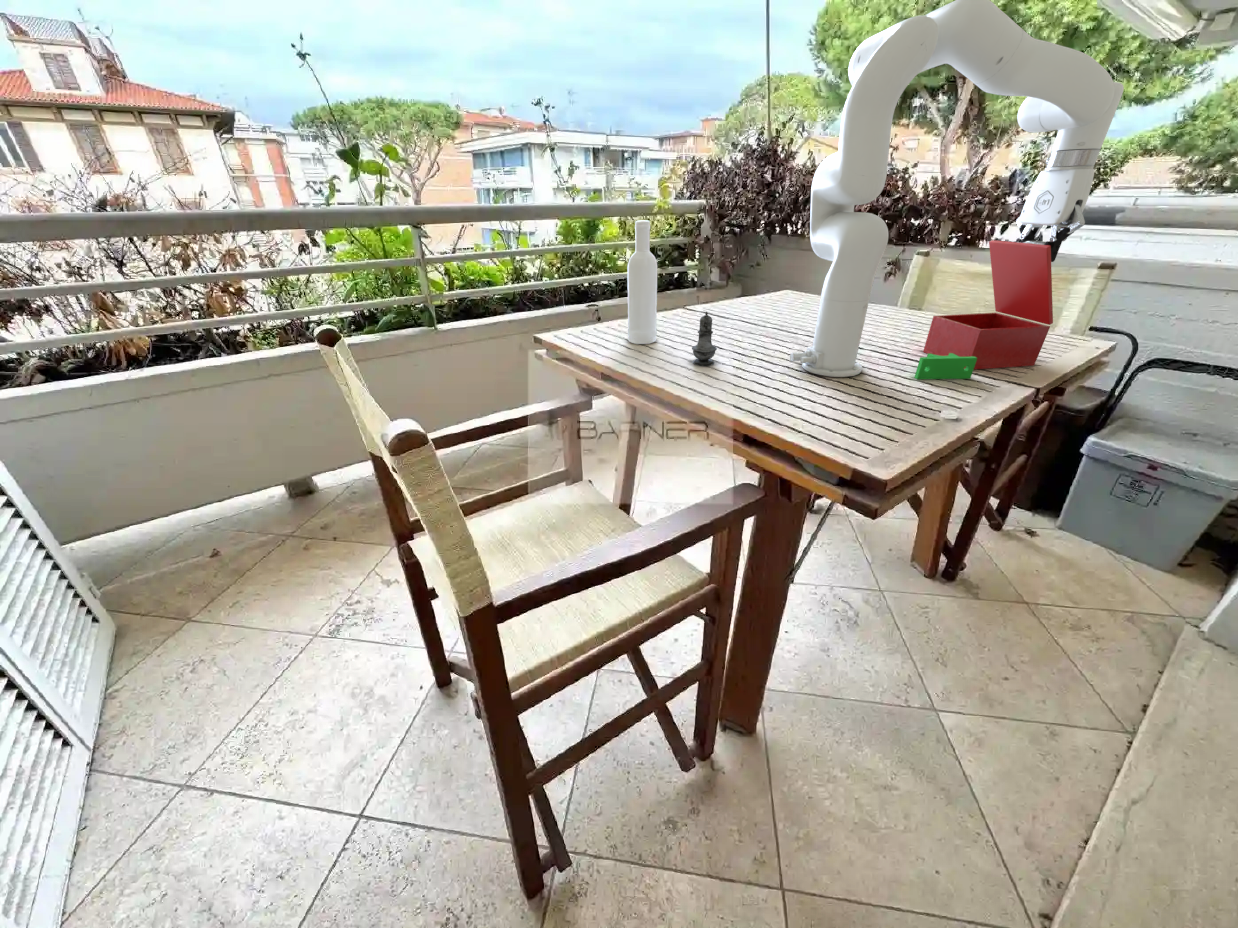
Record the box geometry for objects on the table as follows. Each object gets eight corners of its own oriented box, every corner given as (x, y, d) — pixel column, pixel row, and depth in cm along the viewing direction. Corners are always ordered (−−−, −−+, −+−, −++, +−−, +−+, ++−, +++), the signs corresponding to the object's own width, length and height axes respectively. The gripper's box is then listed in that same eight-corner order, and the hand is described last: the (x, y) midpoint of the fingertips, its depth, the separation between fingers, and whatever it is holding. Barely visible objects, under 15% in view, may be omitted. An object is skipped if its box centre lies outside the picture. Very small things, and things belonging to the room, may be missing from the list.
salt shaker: (688, 365, 114) (690, 313, 109) (694, 358, 119) (697, 308, 113) (712, 367, 112) (716, 315, 107) (718, 360, 117) (722, 309, 111)
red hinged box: (967, 370, 107) (980, 330, 103) (922, 351, 120) (933, 315, 116) (1034, 365, 109) (1050, 326, 105) (983, 348, 122) (996, 312, 117)
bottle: (622, 341, 134) (620, 221, 120) (639, 335, 140) (639, 219, 125) (644, 346, 130) (645, 221, 115) (662, 339, 135) (664, 220, 120)
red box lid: (1046, 247, 96) (1072, 234, 96) (988, 241, 109) (1010, 230, 108) (1049, 325, 105) (1072, 313, 104) (995, 311, 117) (1015, 300, 117)
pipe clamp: (959, 373, 106) (966, 352, 104) (970, 379, 102) (977, 358, 100) (907, 373, 106) (914, 353, 104) (916, 379, 103) (923, 358, 100)
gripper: (1017, 164, 103) (987, 256, 112) (1096, 159, 88) (1054, 265, 97) (1049, 164, 104) (1016, 256, 112) (1132, 158, 89) (1087, 264, 98)
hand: (1034, 259), depth 105 cm, fingers closed on red box lid, 5 cm apart
